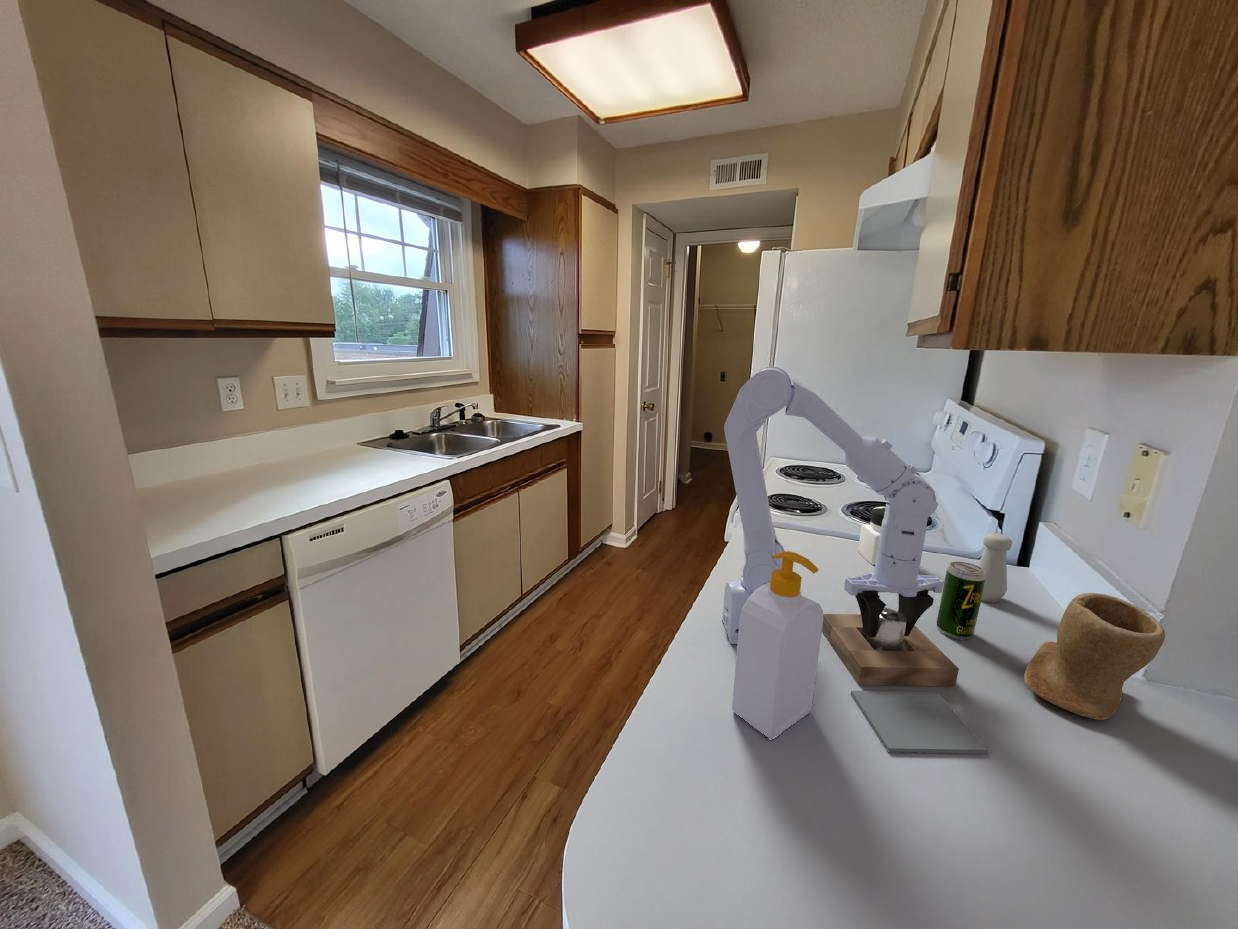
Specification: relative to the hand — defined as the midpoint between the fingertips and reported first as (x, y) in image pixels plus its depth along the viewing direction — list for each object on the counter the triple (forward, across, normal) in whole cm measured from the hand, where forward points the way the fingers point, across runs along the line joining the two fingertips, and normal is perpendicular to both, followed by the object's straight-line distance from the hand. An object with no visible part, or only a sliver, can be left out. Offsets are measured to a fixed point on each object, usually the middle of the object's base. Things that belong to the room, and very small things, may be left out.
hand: (885, 633), depth 77 cm
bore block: (+4, 0, 0) cm, 4 cm away
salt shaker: (+4, +32, +16) cm, 36 cm away
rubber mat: (+4, -4, -14) cm, 15 cm away
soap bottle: (+4, -22, -11) cm, 25 cm away
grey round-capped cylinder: (+4, 0, 0) cm, 4 cm away
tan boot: (+4, +23, -10) cm, 26 cm away
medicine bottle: (+4, +21, +34) cm, 40 cm away
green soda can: (+4, +17, +6) cm, 18 cm away
